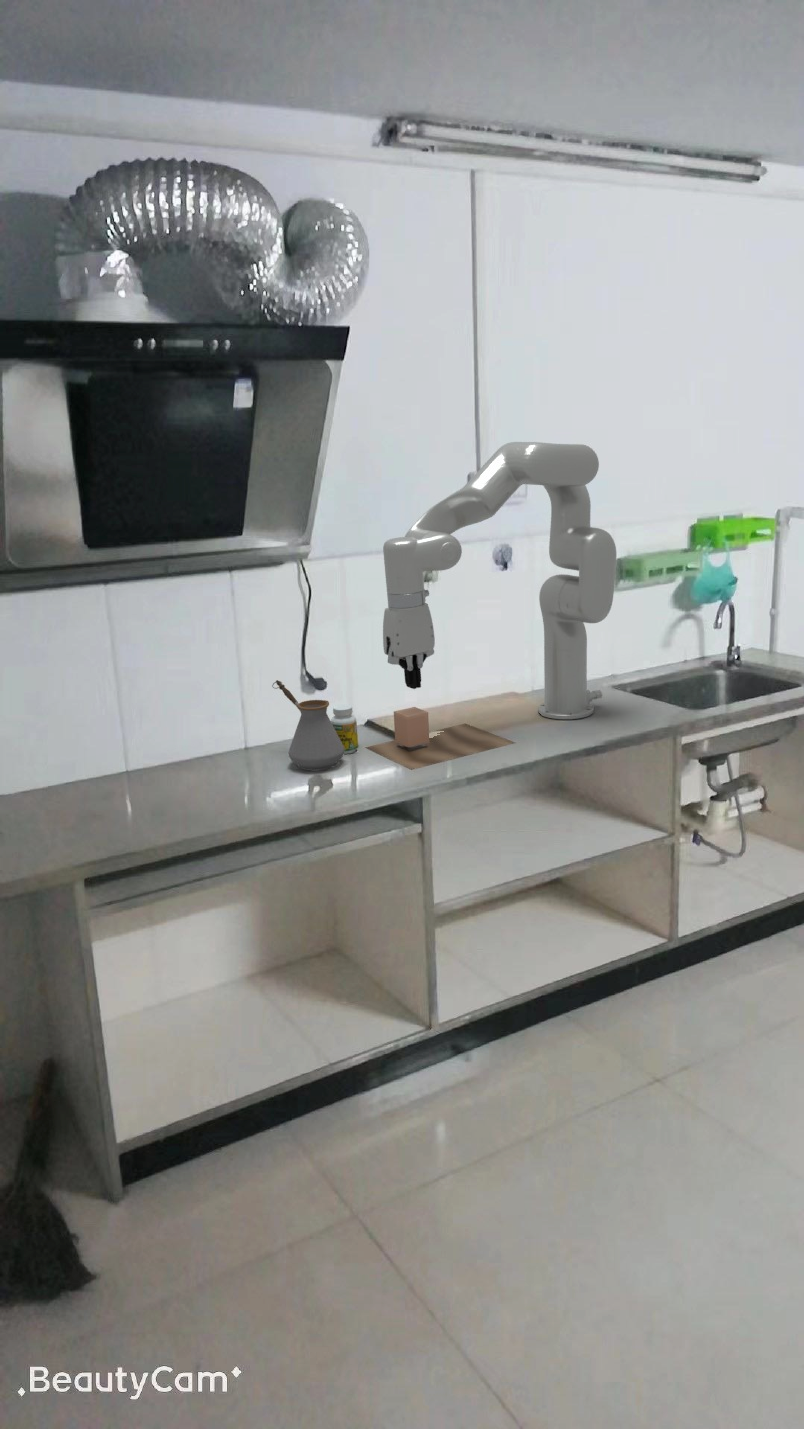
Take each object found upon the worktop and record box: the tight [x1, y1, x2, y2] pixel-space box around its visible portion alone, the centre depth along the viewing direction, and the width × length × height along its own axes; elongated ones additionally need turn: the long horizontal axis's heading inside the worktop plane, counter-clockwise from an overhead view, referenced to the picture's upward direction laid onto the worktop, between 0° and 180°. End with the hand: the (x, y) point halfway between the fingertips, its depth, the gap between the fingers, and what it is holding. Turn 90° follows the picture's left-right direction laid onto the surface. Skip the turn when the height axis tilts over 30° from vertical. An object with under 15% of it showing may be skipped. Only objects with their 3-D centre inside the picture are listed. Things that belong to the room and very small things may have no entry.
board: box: [365, 723, 516, 771], centre depth 221 cm, size 26×18×1 cm
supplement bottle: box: [330, 704, 359, 755], centre depth 221 cm, size 5×5×10 cm
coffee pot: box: [271, 680, 345, 771], centre depth 217 cm, size 21×12×15 cm, turn 34°
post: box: [398, 744, 427, 751], centre depth 219 cm, size 4×4×7 cm
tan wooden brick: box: [393, 706, 430, 748], centre depth 219 cm, size 5×5×7 cm
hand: (413, 686), depth 217 cm, fingers closed
